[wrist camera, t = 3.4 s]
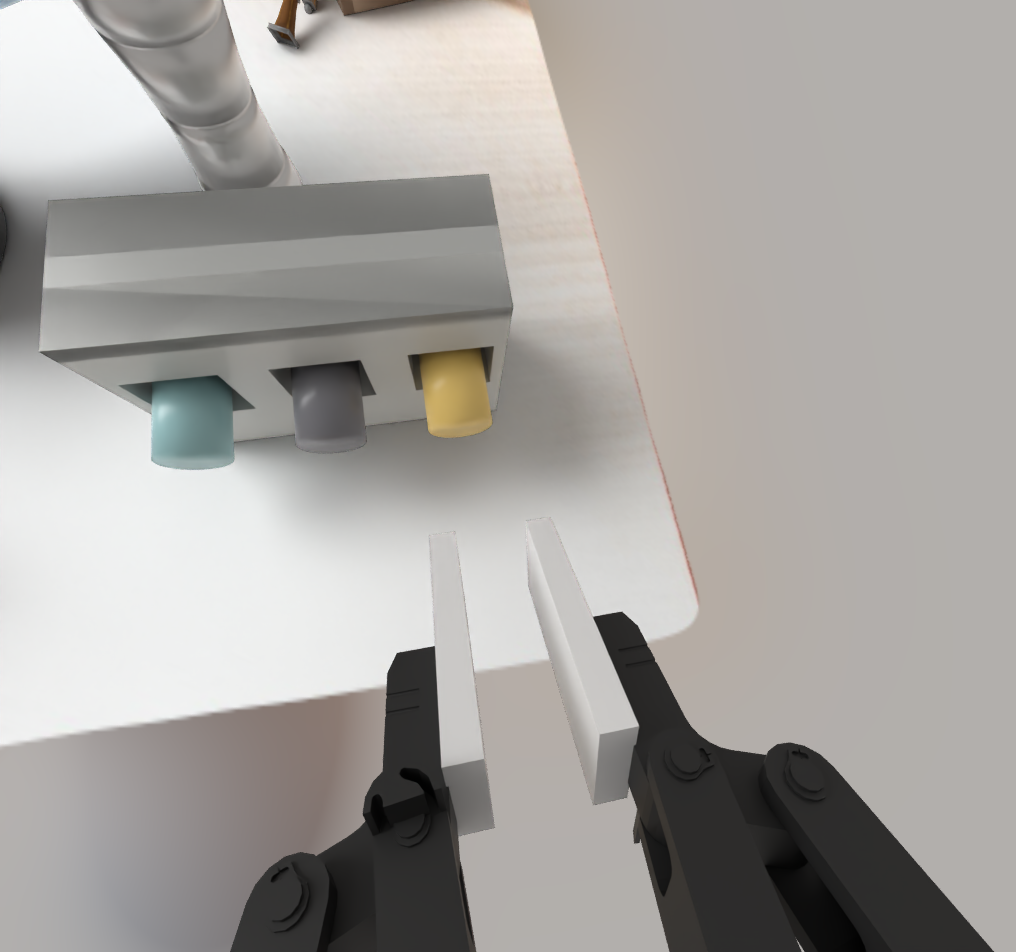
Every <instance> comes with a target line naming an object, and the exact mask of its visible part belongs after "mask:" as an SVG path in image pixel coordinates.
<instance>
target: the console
mask: <svg viewBox="0 0 1016 952" xmlns="http://www.w3.org/2000/svg"><path fill="white" fill-rule="evenodd" d="M512 311H513V303H512V298H511V292H510V287H509V281H508V276H507V270H506V265H505V260H504V254H503V249H502V243H501V238H500V232H499V227H498V221H497V216H496V211H495V205H494V200H493V194H492V189H491V183H490V178H489V174H482V175H465V176H449V177H432V178H415V179H398V180H382V181H365V182H348V183H332V184H315V185H298V186H281V187H265V188H248V189H231V190H215V191H198V192H181V193H164V194H148V195H131V196H114V197H98V198H81V199H64V200H48V214H47V229H46V244H45V260H44V275H43V291H42V306H41V322H40V337H39V352H40V353H42V354H44V355H45V356H47V357H49V358H51V359H53V360H54V361H56V362H58V363H60V364H62V365H63V366H65V367H67V368H69V369H71V370H72V371H74V372H76V373H78V374H80V375H81V376H83V377H85V378H87V379H89V380H90V381H92V382H94V383H96V384H98V385H99V386H101V387H103V388H105V389H107V390H108V391H110V392H112V393H114V394H116V395H117V396H119V397H121V398H123V399H125V400H126V401H128V402H130V403H132V404H133V405H135V406H137V407H139V408H141V409H142V410H144V411H146V412H148V413H150V414H151V415H152V382H154V381H164V380H174V379H183V378H193V377H202V376H212V375H218V376H219V377H220V378H221V379H223V380H224V381H225V382H226V383H227V384H228V385H230V386H231V387H232V406H233V435H234V442H237V441H245V440H254V439H262V438H270V437H278V436H287V435H295V426H294V410H293V395H292V379H291V367H298V366H308V365H317V364H327V363H337V362H346V361H356V360H359V369H360V379H361V389H362V399H363V409H364V420H365V426H369V425H378V424H386V423H394V422H402V421H411V420H419V419H427V416H426V408H425V401H424V393H423V385H422V378H421V370H420V362H419V355H418V354H423V353H432V352H442V351H452V350H461V349H471V348H481V354H482V360H483V366H484V373H485V379H486V385H487V391H488V397H489V403H490V409H491V411H493V410H496V408H497V402H498V396H499V389H500V383H501V377H502V371H503V365H504V359H505V353H506V347H507V341H508V335H509V329H510V323H511V317H512Z"/></svg>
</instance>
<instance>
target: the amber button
mask: <svg viewBox="0 0 1016 952" xmlns="http://www.w3.org/2000/svg"><path fill="white" fill-rule="evenodd" d="M418 355H419V362H420V370H421V378H422V385H423V393H424V401H425V408H426V416H427V424H428V431H429V433H430V434H432V435H434V436H437V437H443V438H457V437H465V436H470V435H474V434H477V433H480V432H483V431H485V430H486V429H488V428H489V427H490V426H491V425H492V423H493V422H492V416H491V409H490V403H489V397H488V391H487V385H486V379H485V373H484V366H483V360H482V354H481V348H471V349H461V350H452V351H442V352H432V353H423V354H418Z"/></svg>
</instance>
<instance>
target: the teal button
mask: <svg viewBox="0 0 1016 952" xmlns="http://www.w3.org/2000/svg"><path fill="white" fill-rule="evenodd" d="M151 459H152V461H153V462H154V463H155V464H158V465H160V466H164V467H168V468H175V469H187V470H201V469H213V468H219V467H224V466H227V465H229V464H231V463H233V462H234V435H233V406H232V387H231V386H230V385H228V384H227V383H226V382H225V381H224V380H223V379H221V378H220V377H219V376H218V375H212V376H202V377H193V378H183V379H174V380H164V381H154V382H152V452H151Z"/></svg>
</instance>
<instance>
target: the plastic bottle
mask: <svg viewBox="0 0 1016 952" xmlns="http://www.w3.org/2000/svg"><path fill="white" fill-rule="evenodd" d="M73 1H74V2H75V4H76V5H77V6H78V8H79V9H80V10H81V12H82V13H83V15H84V16H85V17H86V19H87V20H88V21H89V23H90V24H91V25H92V26H93V27H94V28H95V30H96V31H97V32H98V33H99V35H100V36H101V37H102V38H103V40H104V41H105V42H106V43H107V44H108V46H109V47H110V48H111V49H112V50H113V52H114V53H115V54H116V55H117V57H118V58H119V59H120V60H121V61H122V63H123V64H124V65H125V66H126V67H127V69H128V70H129V71H130V72H131V74H132V75H133V76H134V77H135V78H136V80H137V81H138V82H139V84H140V85H141V86H142V88H143V89H144V91H145V92H146V93H147V95H148V96H149V98H150V99H151V101H152V102H153V103H154V105H155V106H156V107H157V109H158V110H159V111H160V113H161V115H162V116H163V117H164V119H165V120H166V122H167V123H168V124H169V126H170V127H171V129H172V130H173V132H174V134H175V136H176V138H177V140H178V141H179V143H180V145H181V147H182V149H183V150H184V152H185V154H186V156H187V158H188V160H189V161H190V163H191V165H192V167H193V169H194V171H195V174H196V176H197V179H198V182H199V184H200V186H201V189H202V191H215V190H231V189H248V188H265V187H281V186H298V185H302V182H301V178H300V176H299V174H298V172H297V170H296V168H295V167H294V165H293V163H292V161H291V160H290V158H289V156H288V155H287V154H286V152H285V151H284V149H283V148H282V147H281V145H280V144H279V142H278V140H277V139H276V137H275V135H274V133H273V131H272V129H271V127H270V125H269V123H268V122H267V120H266V118H265V116H264V114H263V112H262V110H261V108H260V106H259V105H258V102H257V100H256V97H255V94H254V92H253V89H252V87H251V85H250V82H249V79H248V76H247V74H246V71H245V68H244V66H243V63H242V61H241V58H240V55H239V53H238V49H237V46H236V43H235V39H234V36H233V33H232V29H231V26H230V22H229V19H228V16H227V12H226V9H225V6H224V2H223V0H73Z"/></svg>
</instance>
